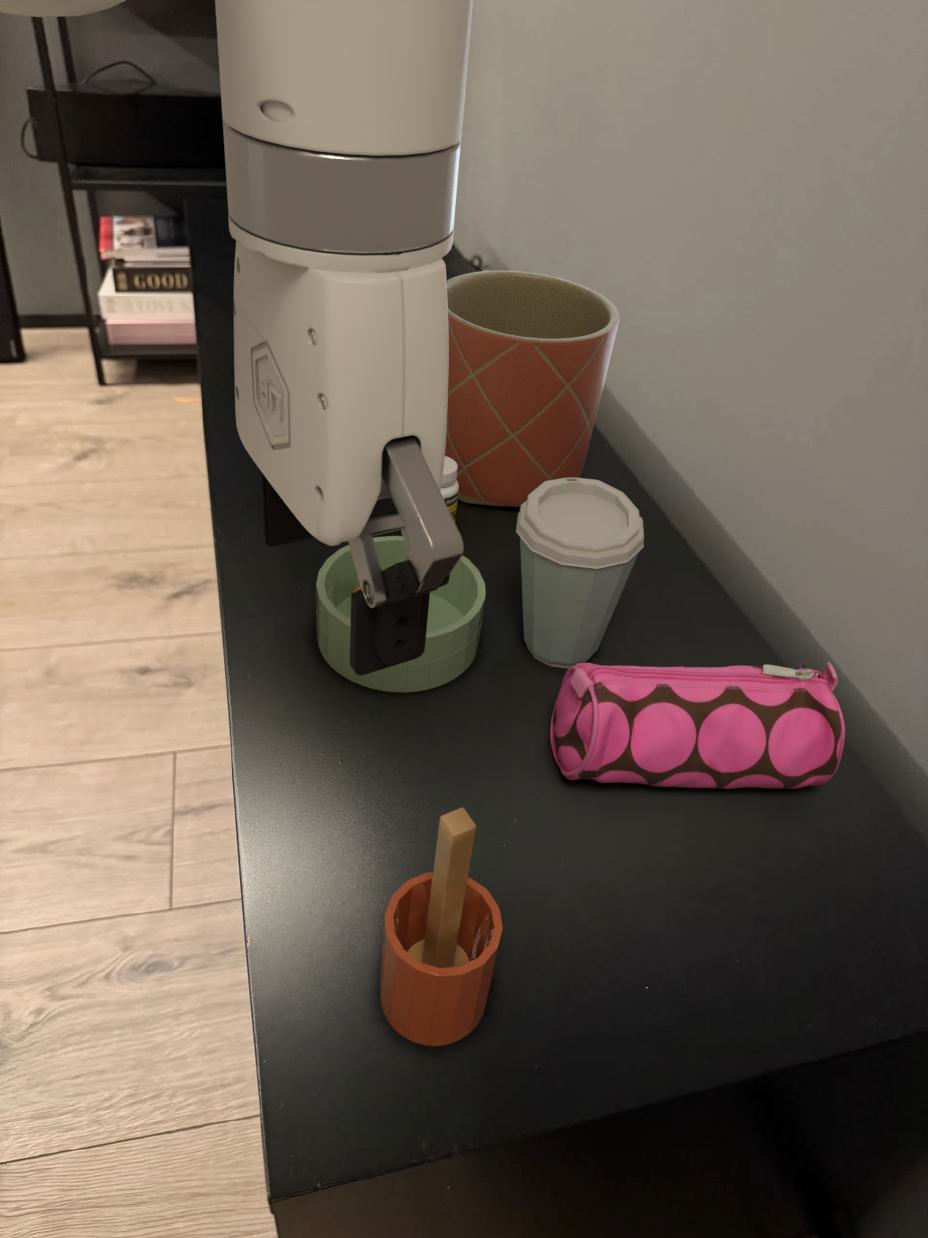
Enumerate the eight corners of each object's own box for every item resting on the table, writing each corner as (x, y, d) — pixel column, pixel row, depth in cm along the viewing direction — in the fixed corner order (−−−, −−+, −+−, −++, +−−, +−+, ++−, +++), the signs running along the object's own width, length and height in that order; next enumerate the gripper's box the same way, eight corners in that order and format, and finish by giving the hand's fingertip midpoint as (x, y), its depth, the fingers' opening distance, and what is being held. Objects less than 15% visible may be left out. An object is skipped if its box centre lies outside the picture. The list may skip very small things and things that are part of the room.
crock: (411, 1066, 54) (420, 996, 48) (361, 972, 58) (365, 898, 53) (506, 1015, 56) (524, 944, 51) (452, 929, 61) (464, 855, 56)
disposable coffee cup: (628, 684, 81) (669, 544, 71) (509, 689, 79) (534, 545, 69) (597, 608, 89) (629, 472, 79) (487, 610, 87) (507, 472, 77)
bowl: (360, 713, 75) (361, 658, 71) (291, 610, 84) (290, 557, 80) (508, 663, 81) (517, 611, 78) (430, 573, 91) (434, 522, 87)
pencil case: (780, 717, 80) (819, 628, 73) (827, 806, 72) (875, 716, 66) (538, 721, 76) (557, 628, 70) (561, 814, 69) (585, 720, 63)
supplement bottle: (445, 552, 94) (452, 481, 88) (401, 541, 94) (406, 469, 89) (459, 528, 97) (467, 458, 92) (417, 518, 98) (422, 447, 93)
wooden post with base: (419, 1034, 55) (442, 868, 44) (387, 975, 57) (402, 805, 47) (480, 1002, 56) (515, 836, 46) (446, 947, 59) (472, 778, 49)
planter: (606, 515, 102) (646, 342, 89) (438, 521, 98) (454, 340, 85) (558, 431, 116) (587, 271, 104) (409, 433, 112) (420, 267, 99)
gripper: (153, 126, 34) (194, 514, 45) (350, 295, 23) (342, 753, 34) (338, 123, 38) (335, 484, 48) (588, 268, 27) (511, 694, 37)
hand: (338, 595), depth 41 cm, fingers open, 9 cm apart
